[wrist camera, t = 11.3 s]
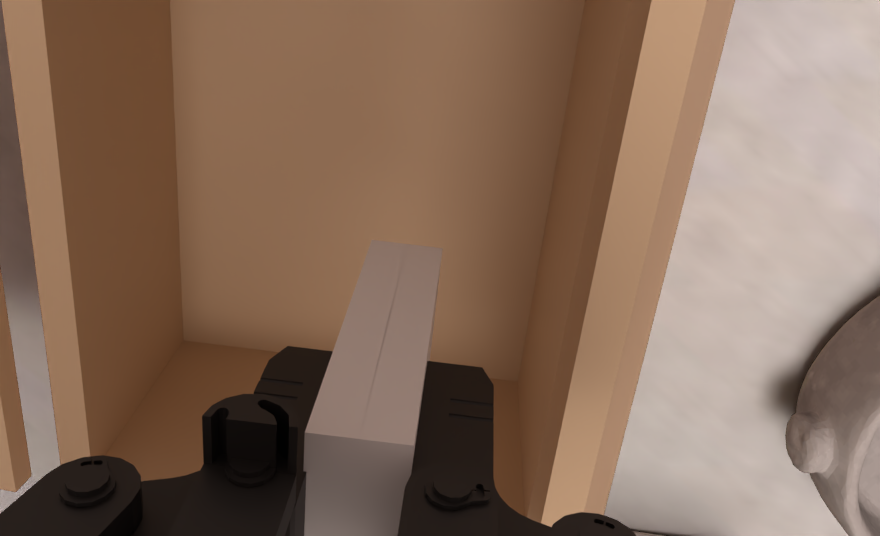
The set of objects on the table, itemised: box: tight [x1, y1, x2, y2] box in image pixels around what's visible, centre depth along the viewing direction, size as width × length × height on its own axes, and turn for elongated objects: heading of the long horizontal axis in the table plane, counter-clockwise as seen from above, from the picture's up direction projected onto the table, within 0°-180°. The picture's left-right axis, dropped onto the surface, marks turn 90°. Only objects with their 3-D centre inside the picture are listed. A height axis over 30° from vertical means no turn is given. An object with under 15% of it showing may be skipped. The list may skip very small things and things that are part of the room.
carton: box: [1, 0, 652, 523], centre depth 25 cm, size 16×23×9 cm
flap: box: [541, 0, 735, 527], centre depth 18 cm, size 1×21×6 cm, turn 174°
